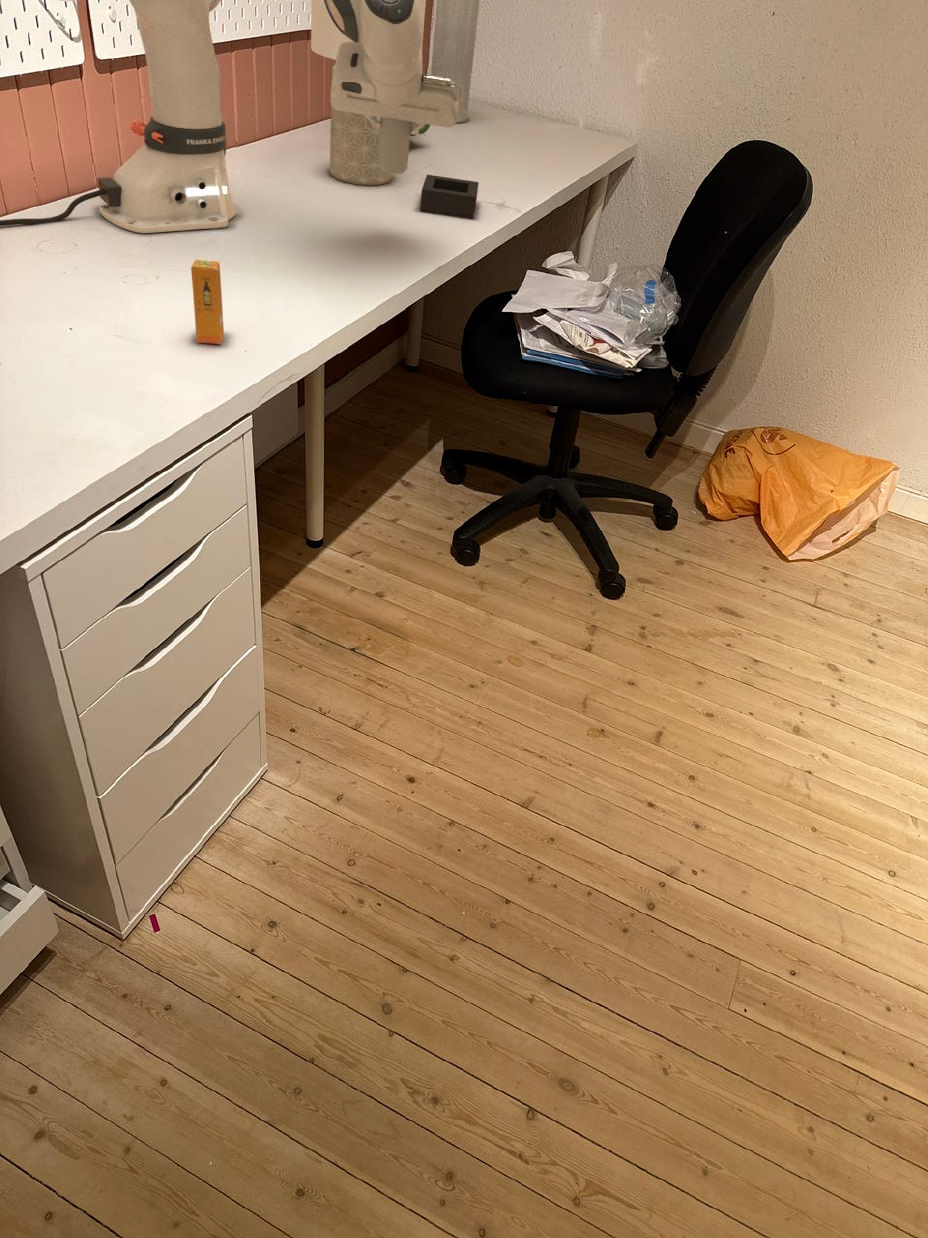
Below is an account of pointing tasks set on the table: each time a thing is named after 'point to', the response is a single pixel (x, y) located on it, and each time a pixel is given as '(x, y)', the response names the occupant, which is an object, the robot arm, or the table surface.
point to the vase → (455, 45)
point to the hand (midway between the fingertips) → (396, 127)
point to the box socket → (449, 196)
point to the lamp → (348, 113)
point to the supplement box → (207, 301)
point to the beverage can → (394, 145)
